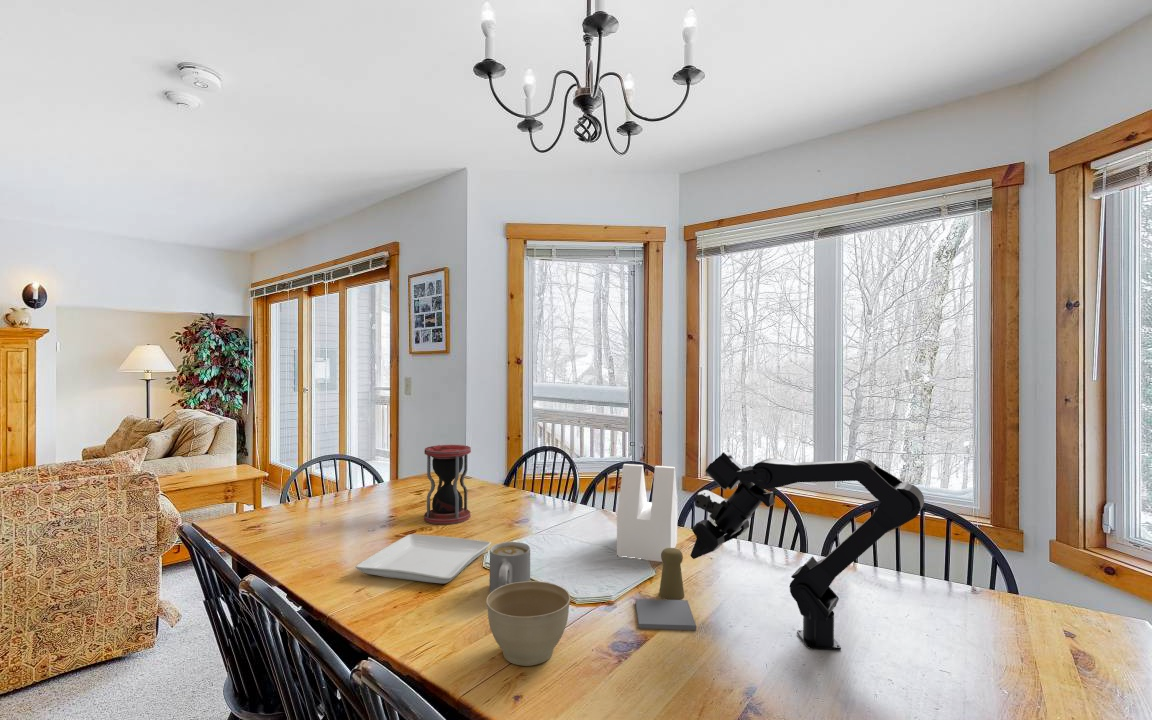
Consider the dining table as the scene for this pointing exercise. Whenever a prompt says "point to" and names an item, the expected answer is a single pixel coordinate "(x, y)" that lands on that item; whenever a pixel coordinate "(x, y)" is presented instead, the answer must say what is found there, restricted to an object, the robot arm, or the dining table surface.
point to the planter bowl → (528, 620)
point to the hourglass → (447, 484)
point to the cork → (671, 575)
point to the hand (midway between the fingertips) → (701, 551)
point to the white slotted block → (646, 513)
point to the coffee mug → (509, 564)
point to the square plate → (424, 558)
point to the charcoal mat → (664, 614)
